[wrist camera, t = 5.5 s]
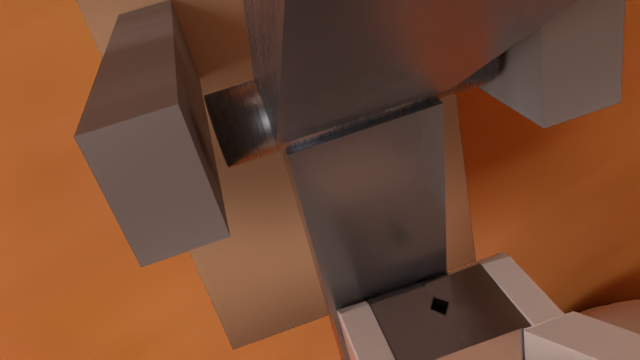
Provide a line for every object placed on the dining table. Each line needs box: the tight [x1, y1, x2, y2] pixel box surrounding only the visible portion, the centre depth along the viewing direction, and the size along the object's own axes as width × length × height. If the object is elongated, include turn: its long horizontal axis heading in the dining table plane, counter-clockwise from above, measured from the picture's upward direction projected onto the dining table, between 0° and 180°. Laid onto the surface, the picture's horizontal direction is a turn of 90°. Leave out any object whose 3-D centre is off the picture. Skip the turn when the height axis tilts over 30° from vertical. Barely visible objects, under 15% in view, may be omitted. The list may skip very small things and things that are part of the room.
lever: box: [204, 0, 578, 360], centre depth 7 cm, size 12×3×7 cm
